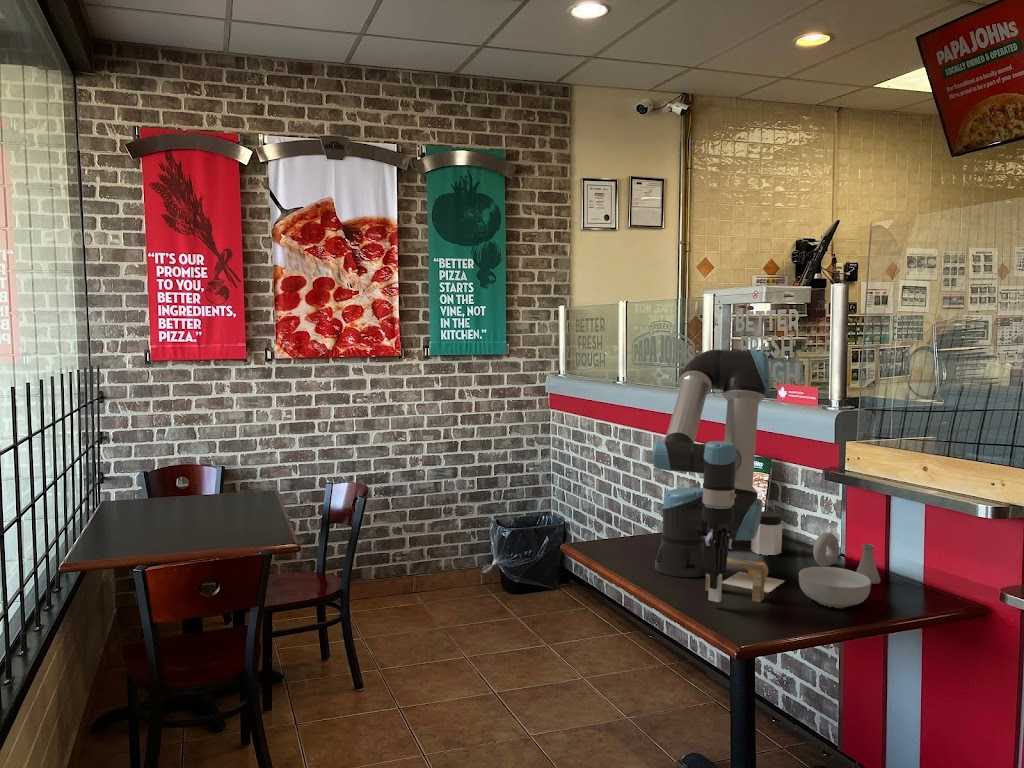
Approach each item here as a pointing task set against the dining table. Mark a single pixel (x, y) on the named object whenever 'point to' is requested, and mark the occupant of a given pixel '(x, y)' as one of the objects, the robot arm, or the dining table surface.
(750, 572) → the ball
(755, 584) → the bridge
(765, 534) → the jar
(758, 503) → the robot arm
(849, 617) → the dining table surface
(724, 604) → the dining table surface
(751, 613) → the dining table surface
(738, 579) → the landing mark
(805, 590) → the cereal bowl
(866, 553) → the flask
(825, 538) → the donut
